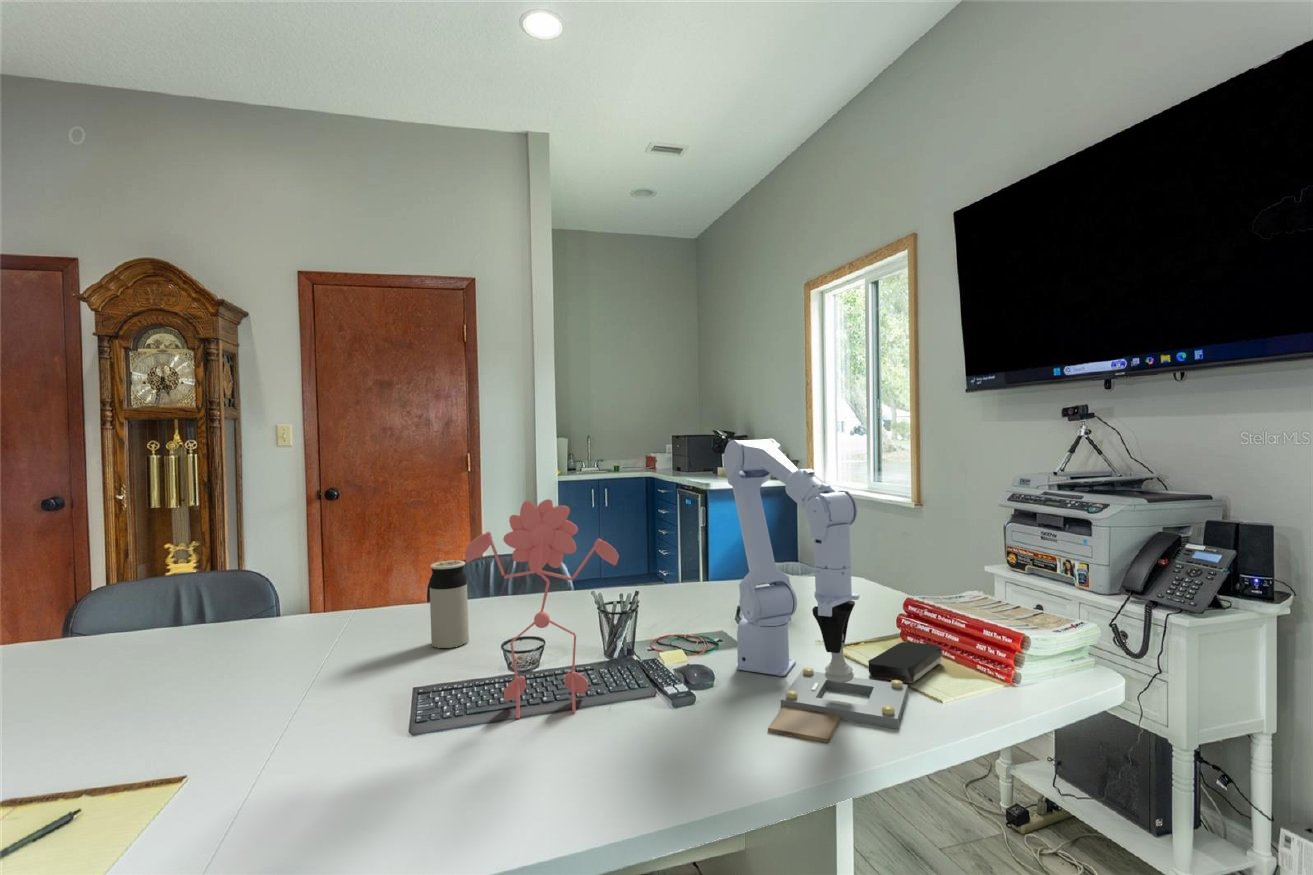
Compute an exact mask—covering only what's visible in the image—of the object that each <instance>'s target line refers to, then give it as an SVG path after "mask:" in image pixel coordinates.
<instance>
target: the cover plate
mask: <svg viewBox="0 0 1313 875" xmlns="http://www.w3.org/2000/svg"><path fill="white" fill-rule="evenodd" d="M908 687H909V686H908V684H905V683H904V682H902V681H899V680H890V682H889V681H885V680H883V681H882V680H875V679H870V678H869V679H868V678H861V677H855V676H854V677H853V679H852V680H851V681H848V682H844V683H836V682H832V681H829V680H828V679H827V678H826V677H825V672H818V671H814V668H811V667H804V668H802V670H801V671H800V672H799V673H798V675H797V676H796V678H795V679H794V680H793V682H792V683H791V685H790V686H789V687H788V688H787V690H786V691H785V693H784V694H783V695H782V696H781V698H780V709H781V708H782V707H783V706H790V707H795V708H801V709H807V710H813V711H819V712H825V713H831V714H837V715H840V720H844V721H851V722H855V723H861V724H862V723H863V724H867V725H873V726H879V727H886V728H892V729H899V727H900V722H901V719H902V715H903V712H904V709H905V704H906V701H907V698H908V694H909V692H908V690H909V689H908ZM827 689H829V690H835V691H841V692H848V693H854V694H861V695H867V696H869V698H868V700H867V702H866V705H864V704H858V703H853V702H846V701H840V700H834V699H827V698H823V695H824V693H825V692H826V690H827Z"/></svg>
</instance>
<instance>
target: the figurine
mask: <svg viewBox="0 0 1313 875" xmlns="http://www.w3.org/2000/svg"><path fill="white" fill-rule="evenodd" d="M570 511H571V509H570V507H569V506H567V505H557V506H554V503H553V500H552V499H550V498H548V499H544V500H542V501H541V502H540V503H538V505H537V506H536V505H535V503H533V502H532V501H530V500H528V499H527V500H525V501H523V502H522V504H521V506H520V513H519V515H518V514H512V515H510V516H509V521H508V522H509V525H510V528H511V530H512V531H509V532H507V533H506V534H505V535H504V536H503V539H502V540H503V542H504V543H505V544H506V546H508V547H510V548H512V549H514V550H513V552H512V556H511V557H512V561H514V562H516V563H525V562H528V563H527V566H528V569H529V570H528V571H522V572H516V573H511V574H506V573H505V570H504V568H503V565H502V563H501V562H502V561H501V559H500V557H499V554H498V551H497V549H496V547H495V543H494V541H493V537H492V532H491V531H486V532H485V533H483V534H479V535H478V536H477V537H475V538H474V539H473V540H471V542H470V543H468V545H467V546H466V548H465V551H464V559H465V564H468V563H470V562H472V561H474V560H475V559H477V558H479V557H481V556H482V555H483V554H484V553H485V552H487V551H488V549H489V548H490V547H491V549H492V552H493V555H494V558H495V560H496V562H497V563H496V564H497V566H498V567H499V572H500V573H501V574H500V575H501V576H503V580H504V579H510V578H516V577H521V576H526V575H527V576H528V575H531V574H536V575H538V576H540V577H541V578H542V579H543V580H544V581H545V582H546V584H545V589H544V592H543V593H544V594H543V599H542V604H541V608H540V611H539V612H537V613H536V614H535V616H534V618H533V621H534V622H532V623H531V624H530V625H529V626H528V627H526V628H525V629H523V631H521V633H519V634H518V635H516V636H515V638H513V639H512V640H511V641H510V644H509V645H510V652H511V656H512V664H513V665H512V666H513V670H514V671H513V672H514V677H515V678H513V679H512V680H511V681H510V682H509V684H507V686H506V687H505V691H504V690H503V691H504V692H503V698H504V700H505V702H506V701H508V700H513V699H515V698H516V700H515V703H516V705H515V708H516V711H515V712H516V719H520V716H521V710H520V708H521V704H520V702H521V700H520V699H521V697H520V696H521V695H522V694H523V692H525V689H526V686H527V685H526V684H527V682H526V678H525V676H522V675H520V676H518V671H517V665H516V664H517V662H516V658H515V657H516V656H515V648H514V642H515V641H516V640H517V639H519V638H520V637H521V636H523V634H525V633H526V632H527V631H529V630H530V629H531V628H532V627H533V626H536V627H537V628H538V629H545V628H547V627H548V626H549V624H551V625H552V626H553V625H554V626H555V627H558V628H559V629H561V630H563V631H565V632H567V633H569V634H571V635H573V649H572V667H571V668H572V669H571V672H567V673H565V675H564V680H563V681H564V682H563V683H564V685H565V687H566V689H567V690H569V691H570V693H571V711H572V713H573V714H574V713H577V712H576V711H577V710H576V695H578V694H583V693H585V695H586V694H587V693H586V692H587V691H588V689H589V682H588V680H587V679H586V677H585V676H583V675H582V674H581V673H580V672H576V671H575V668H576V667H575V663H576V649H577V648H576V644H577V634H576V633H575V632H573V631H571V630H569V629H567V628H566V627H564V626H562V625H560V624H558V623H556V622H554V621H553V620H551V618H550V615H549V614H548V612H546V611H544V608H545V606H546V605H545V604H546V600H547V596H548V592H549V590H550V589H549V588H550V585H551V583H550V581H551V580H550V579H549V578H548V577H547V576H551V577H555V578H559V579H563V580H567V581H570V582H574V579H576V577H577V576H578V575H579V573H580V571H581V570H582V569H583V567H584V566H585V565H586V563H587V562H588V561H589V559H590V557H591V556H592V555H593V553H594V552H596V554H597V555H598V556H600V558H602V559H603V560H604V561H606V562H607V563H609V564H611V565H613V566H616V565H617V564H618V561H619V558H620V556H619V554H618V552H617V550H616V548H614V547H613V546H612V545H611V544H609V543H608V542H607V541H604V540H602V539H601V538H597V539H596V540H595V541H594V545H593V546H592V547H591V549H590V551H589V553H587V555H586V557H585V558H584V559H583V561H582V562H581V564H580V565H579V566H578V568H577V570H576V571H575V573H574V574H573V575H572V576H569V575H567V576H566V575H564V574H559V573H555V572H551V571H547V570H544V569H543V568H544V567H545V566H546V565H547V564H548V565H549V566H550V567H552V568H554V569H557V568H558V569H559V568H560V567H561V566H562V562H563V559H564V554H566V555H567V554H568V555H572V554H574V553H575V552H576V551H577V544H576V542H575V540H574V539H573V537H572V536H574V535H575V534H577V533H578V531H579V527H578V526H577V525H576V524H575V523H574V522H572V521H571V520H567V519H568V518H569V516H570ZM577 693H578V694H577ZM611 707H612V705H610V707H609V709H608V710H610V709H611Z"/></svg>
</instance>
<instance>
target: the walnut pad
mask: <svg viewBox="0 0 1313 875" xmlns="http://www.w3.org/2000/svg"><path fill="white" fill-rule="evenodd" d="M840 720H841V719H840V715H837V714H831V713H825V712H819V711H813V710H807V709H801V708H795V707H790V706H783V707H782V708H781V707H780V710H779V712H778V713H777V714H776V715H775V717H774V718H773V720H772V721H771V722H770V724H769V726H768V727H767V732H769V733H773V734H778V735H783V736H789V737H794V738H799V739H805V740H810V741H814V742H815V741H816V742H820V743H825V744H829V742H830V740H831V738H832V736H833V734H834V732H835V730H836V728H837V726H838V724H839V722H840Z"/></svg>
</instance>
